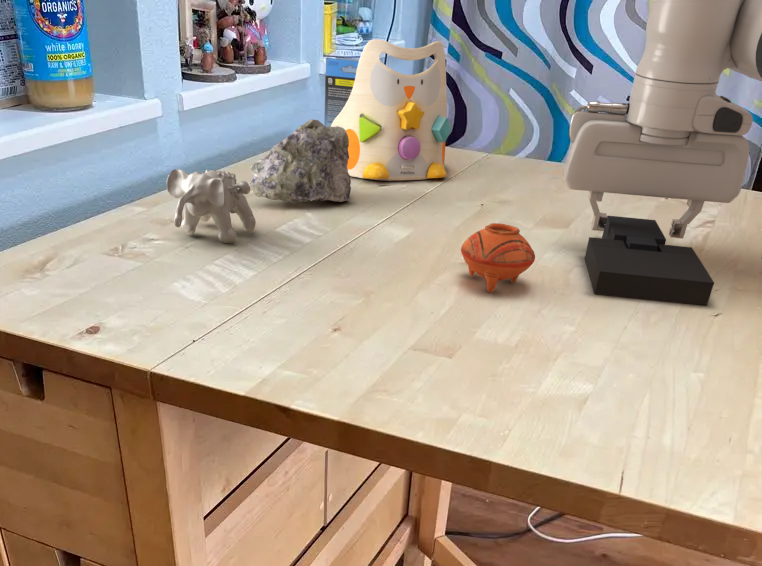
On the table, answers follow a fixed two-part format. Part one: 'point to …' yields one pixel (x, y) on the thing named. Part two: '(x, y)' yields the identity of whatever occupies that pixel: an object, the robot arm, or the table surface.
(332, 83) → the tape cartridge
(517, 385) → the table surface
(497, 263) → the pot
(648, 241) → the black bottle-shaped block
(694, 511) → the table surface
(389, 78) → the shape sorter
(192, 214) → the gray elephant figurine
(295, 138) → the mineral rock
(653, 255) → the black notched square block
